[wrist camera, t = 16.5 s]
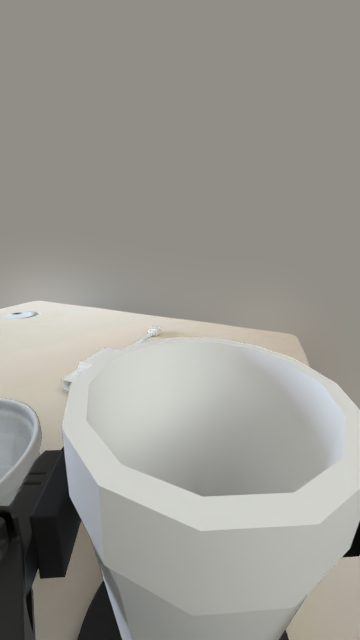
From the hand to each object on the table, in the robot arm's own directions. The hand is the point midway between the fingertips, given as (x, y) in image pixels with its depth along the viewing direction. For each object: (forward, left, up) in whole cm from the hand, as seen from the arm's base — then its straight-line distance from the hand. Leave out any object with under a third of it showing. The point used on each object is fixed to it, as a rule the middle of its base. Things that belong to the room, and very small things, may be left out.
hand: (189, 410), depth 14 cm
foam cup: (+3, -3, -9) cm, 10 cm away
